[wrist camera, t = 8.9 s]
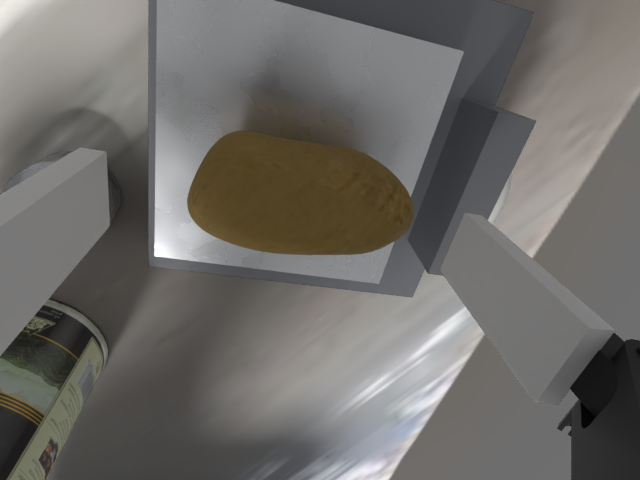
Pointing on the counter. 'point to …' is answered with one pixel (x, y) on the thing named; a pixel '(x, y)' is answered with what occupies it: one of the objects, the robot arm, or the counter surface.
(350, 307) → the counter surface
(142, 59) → the counter surface
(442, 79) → the platform
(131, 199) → the counter surface
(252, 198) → the potato
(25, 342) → the coffee can
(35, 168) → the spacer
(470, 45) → the scale base
